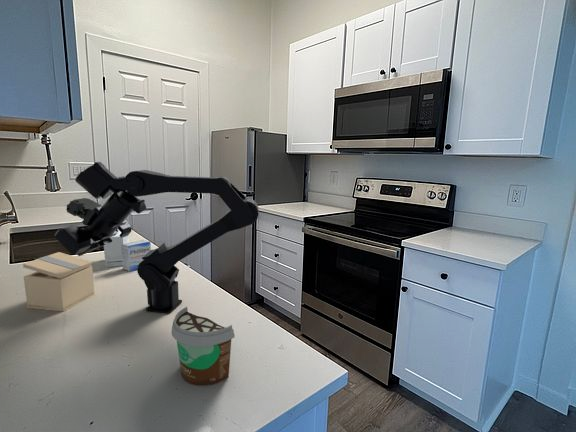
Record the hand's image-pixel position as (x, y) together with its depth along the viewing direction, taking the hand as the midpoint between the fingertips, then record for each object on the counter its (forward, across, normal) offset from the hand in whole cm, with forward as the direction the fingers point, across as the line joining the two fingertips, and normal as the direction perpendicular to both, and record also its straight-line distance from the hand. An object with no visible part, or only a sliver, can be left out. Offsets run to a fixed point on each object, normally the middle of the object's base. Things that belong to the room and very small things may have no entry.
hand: (78, 254), depth 80 cm
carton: (+13, 0, +5) cm, 14 cm away
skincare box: (+18, -31, 0) cm, 36 cm away
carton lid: (+6, 0, -2) cm, 7 cm away
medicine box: (+12, -27, +7) cm, 30 cm away
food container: (-19, +21, +38) cm, 47 cm away
